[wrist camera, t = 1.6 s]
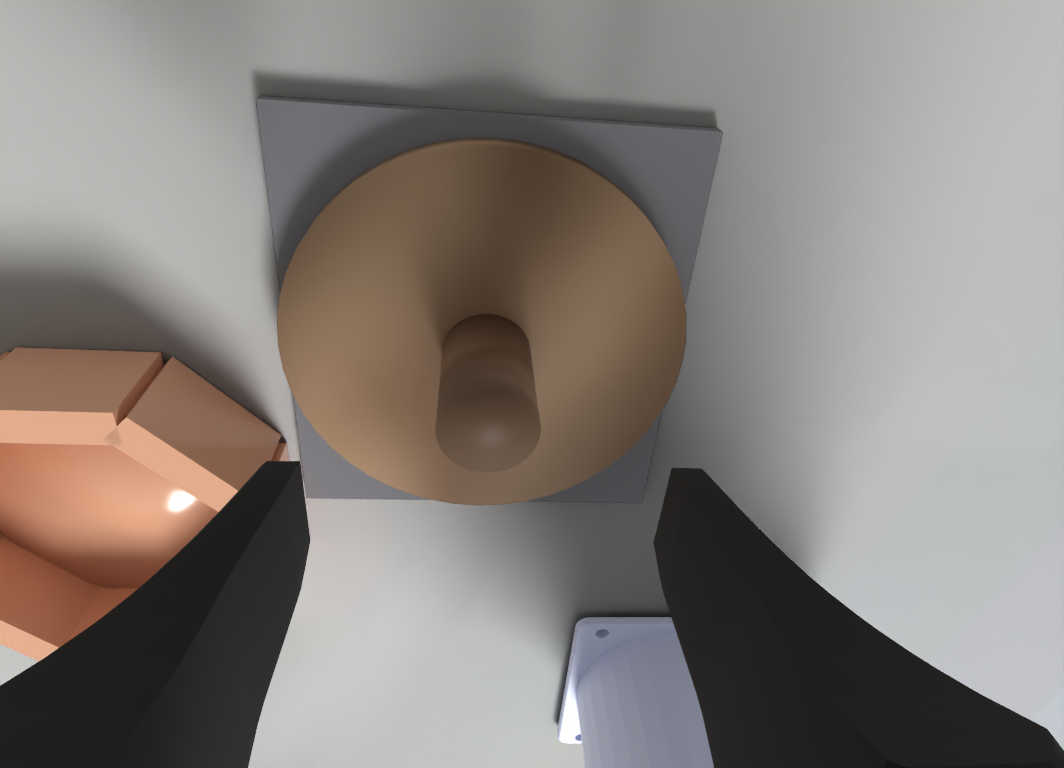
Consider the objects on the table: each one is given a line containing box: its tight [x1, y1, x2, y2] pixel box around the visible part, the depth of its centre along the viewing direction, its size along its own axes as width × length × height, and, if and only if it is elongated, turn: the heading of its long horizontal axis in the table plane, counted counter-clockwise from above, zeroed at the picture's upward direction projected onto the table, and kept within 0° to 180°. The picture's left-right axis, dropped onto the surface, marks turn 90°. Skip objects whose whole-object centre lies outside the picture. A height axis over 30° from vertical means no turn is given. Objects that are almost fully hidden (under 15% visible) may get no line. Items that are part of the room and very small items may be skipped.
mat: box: [256, 96, 723, 503], centre depth 19 cm, size 11×12×1 cm
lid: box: [277, 138, 686, 505], centre depth 17 cm, size 11×11×4 cm
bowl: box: [0, 347, 289, 661], centre depth 20 cm, size 10×10×3 cm
